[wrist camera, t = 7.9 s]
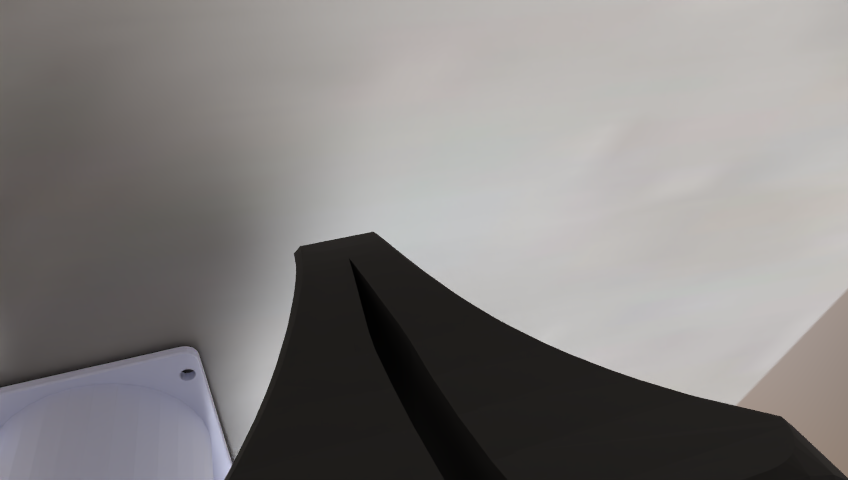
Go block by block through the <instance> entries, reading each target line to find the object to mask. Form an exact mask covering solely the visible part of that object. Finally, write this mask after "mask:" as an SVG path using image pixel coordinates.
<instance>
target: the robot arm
mask: <svg viewBox="0 0 848 480" xmlns="http://www.w3.org/2000/svg"><path fill="white" fill-rule="evenodd" d="M294 256H295V262H296V282H295V291H294V298H293V303H292V308H291V313H290V318H289V323H288V327H287V331H286V334H285V338H284V341H283V344H282V348H281V351H280V354H279V358H278V361H277V365H276V367H275V370H274V373H273V376H272V379H271V381H270V384H269V387H268V389H267V392H266V394H265V397H264V399H263V402H262V404H261V406H260V409H259V411H258V413H257V416H256V418H255V420H254V422H253V424H252V426H251V428H250V430H249V433H248V435H247V437H246V439H245V441H244V443H243V445H242V447H241V449H240V451H239V453H238V455H237V457H236V459H235V461H234V463H233V464H232V461H231V457H230V454H229V451H228V448H227V444H226V441H225V438H224V434H223V431H222V428H221V425H220V421H219V418H218V415H217V411H216V408H215V405H214V402H213V398H212V395H211V392H210V388H209V385H208V382H207V379H206V375H205V372H204V369H203V365H202V362H201V359H200V356H199V353H198V352H197V350H195V349H194V348H192V347H188V346H183V347H177V348H173V349H168V350H164V351H159V352H155V353H151V354H146V355H142V356H137V357H133V358H129V359H124V360H120V361H115V362H111V363H107V364H102V365H98V366H93V367H89V368H84V369H80V370H76V371H71V372H67V373H62V374H58V375H54V376H49V377H45V378H40V379H36V380H32V381H27V382H23V383H18V384H14V385H10V386H5V387H1V388H0V480H848V478H847V477H846V476H845V475H844V474H843V473H842V472H841V471H840V470H839V469H838V468H836V467H835V466H834V465H833V464H832V463H831V462H830V461H829V460H828V459H827V458H826V457H825V456H824V455H823V454H822V453H821V452H819V451H818V450H817V449H816V448H815V447H814V446H813V445H812V444H811V443H810V442H809V441H808V440H807V439H806V438H805V437H804V436H802V435H801V434H800V433H799V432H798V431H797V430H796V429H795V428H794V427H793V426H792V425H790V424H789V423H788V422H787V421H786V420H785V419H783V418H782V417H781V416H777V415H772V414H768V413H763V412H759V411H755V410H751V409H747V408H742V407H738V406H734V405H729V404H725V403H721V402H717V401H712V400H708V399H704V398H700V397H695V396H692V395H688V394H684V393H681V392H678V391H674V390H671V389H668V388H664V387H661V386H658V385H655V384H651V383H648V382H645V381H641V380H638V379H635V378H632V377H629V376H626V375H623V374H621V373H618V372H615V371H612V370H609V369H606V368H604V367H601V366H599V365H596V364H593V363H591V362H588V361H586V360H583V359H581V358H578V357H576V356H573V355H571V354H568V353H566V352H563V351H561V350H559V349H557V348H554V347H552V346H550V345H547V344H545V343H543V342H541V341H539V340H537V339H535V338H533V337H531V336H529V335H527V334H525V333H523V332H521V331H519V330H517V329H515V328H513V327H511V326H509V325H507V324H505V323H503V322H501V321H500V320H498V319H496V318H494V317H492V316H491V315H489V314H487V313H486V312H484V311H482V310H481V309H479V308H477V307H476V306H474V305H472V304H471V303H469V302H468V301H466V300H464V299H463V298H461V297H460V296H458V295H457V294H455V293H454V292H452V291H451V290H450V289H448V288H447V287H445V286H444V285H443V284H441V283H440V282H438V281H437V280H435V279H434V278H433V277H431V276H430V275H428V274H427V273H426V272H424V271H423V270H422V269H420V268H419V267H418V266H417V265H415V264H414V263H413V262H411V261H410V260H409V259H408V258H406V257H405V256H404V255H402V254H401V253H400V252H399V251H397V250H396V249H395V248H394V247H392V246H391V245H390V244H389V243H388V242H386V241H385V240H384V239H383V238H381V237H380V236H379V235H377V234H376V233H374V232H370V233H365V234H360V235H355V236H350V237H345V238H340V239H335V240H329V241H324V242H319V243H314V244H309V245H304V246H300V247H299V248H298V250H297V251H296V252H295V253H294ZM185 369H191V370H194V371H193V372H190V373H183V372H181V371H183V370H185Z"/></svg>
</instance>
